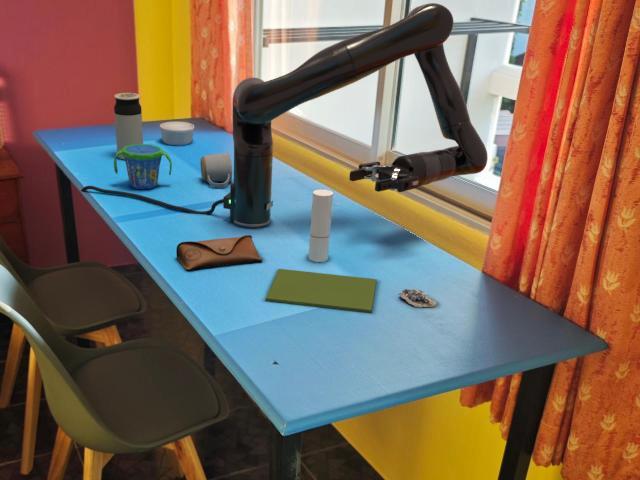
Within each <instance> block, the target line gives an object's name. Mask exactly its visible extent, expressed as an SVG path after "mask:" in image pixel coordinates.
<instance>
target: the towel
mask: <svg viewBox="0 0 640 480" xmlns="http://www.w3.org/2000/svg"><path fill="white" fill-rule="evenodd" d="M377 281H378V279H377V278H369V277H361V276H353V275H352V276H351V275H341V274H330V273H323V272H315V271H314V272H313V271H304V270H295V269H285V268H278V270H277V271H276V274H275V276H274V278H273V281H272V282H271V285H270V288H269V290H268V292H267V295H266V297H265V301H266V302H273V303H282V304H290V305H291V304H292V305H299V306H307V307H308V306H309V307H318V308H326V309H333V310H334V309H335V310H343V311H353V312H361V313H371V314H372V311H373V305H374V299H375V292H376V287H377Z"/></svg>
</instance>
